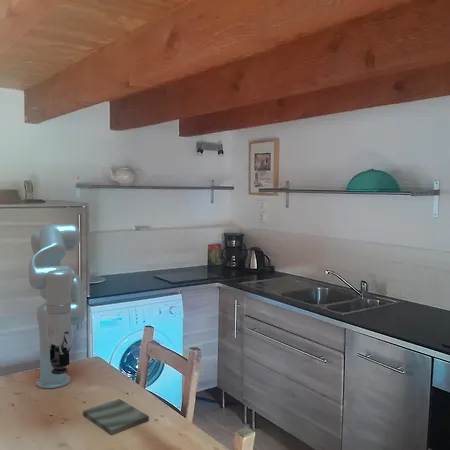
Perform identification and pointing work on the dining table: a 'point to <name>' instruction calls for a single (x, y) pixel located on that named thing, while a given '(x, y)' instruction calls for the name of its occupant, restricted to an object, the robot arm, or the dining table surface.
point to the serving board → (115, 416)
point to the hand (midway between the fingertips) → (59, 362)
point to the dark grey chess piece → (57, 362)
